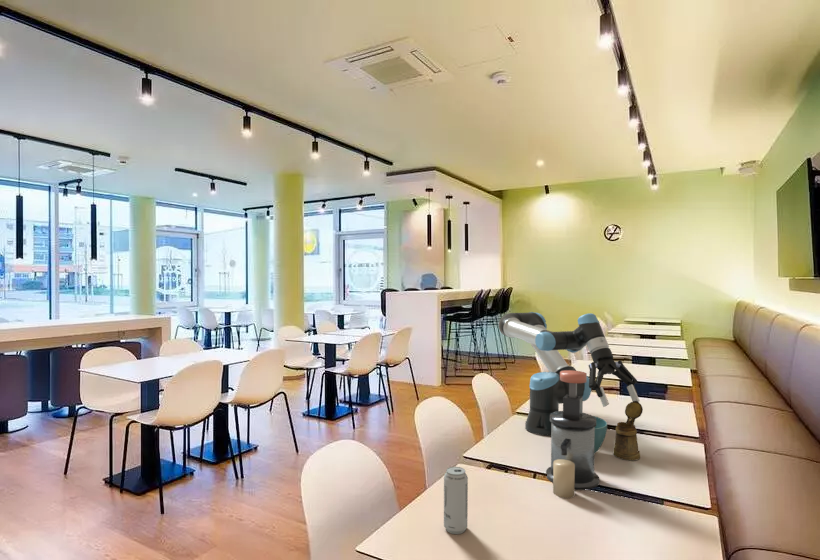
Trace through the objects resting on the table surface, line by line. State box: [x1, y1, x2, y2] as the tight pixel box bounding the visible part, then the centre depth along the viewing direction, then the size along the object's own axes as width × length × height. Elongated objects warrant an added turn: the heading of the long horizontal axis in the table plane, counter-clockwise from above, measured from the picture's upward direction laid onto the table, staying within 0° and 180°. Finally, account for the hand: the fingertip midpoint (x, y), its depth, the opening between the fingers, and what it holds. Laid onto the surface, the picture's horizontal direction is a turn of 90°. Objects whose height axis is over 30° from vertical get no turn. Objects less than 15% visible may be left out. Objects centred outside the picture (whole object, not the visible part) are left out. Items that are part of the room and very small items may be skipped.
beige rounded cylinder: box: [552, 459, 575, 499], centre depth 141 cm, size 6×6×9 cm
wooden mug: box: [612, 401, 643, 461], centre depth 172 cm, size 9×14×18 cm, turn 132°
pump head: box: [560, 370, 588, 399], centre depth 151 cm, size 8×8×8 cm
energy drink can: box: [443, 466, 469, 535], centre depth 121 cm, size 6×6×15 cm
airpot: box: [545, 394, 600, 491], centre depth 149 cm, size 21×16×26 cm
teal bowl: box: [593, 415, 608, 455], centre depth 172 cm, size 18×18×12 cm
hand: (621, 404), depth 174 cm, fingers open, 13 cm apart
